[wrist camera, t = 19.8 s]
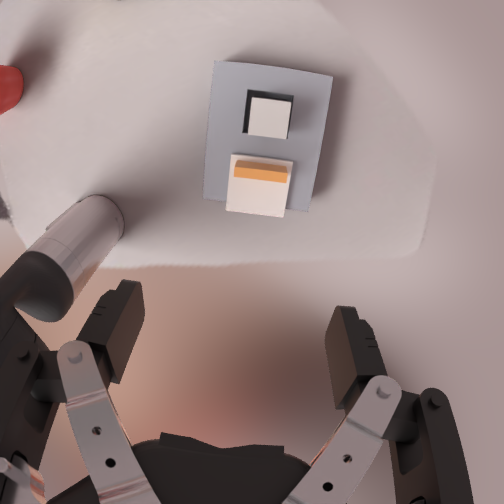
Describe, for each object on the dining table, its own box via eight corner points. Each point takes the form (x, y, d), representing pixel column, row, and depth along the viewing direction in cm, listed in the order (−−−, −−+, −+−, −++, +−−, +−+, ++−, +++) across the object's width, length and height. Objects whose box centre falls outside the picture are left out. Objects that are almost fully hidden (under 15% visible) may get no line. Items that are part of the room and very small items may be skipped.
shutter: (226, 208, 40) (223, 220, 37) (231, 153, 36) (228, 160, 33) (283, 215, 40) (284, 228, 37) (292, 161, 36) (295, 169, 33)
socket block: (207, 188, 43) (202, 198, 40) (219, 62, 34) (214, 60, 30) (304, 200, 44) (308, 211, 40) (326, 77, 34) (333, 76, 31)
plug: (250, 125, 38) (247, 134, 31) (254, 95, 36) (251, 97, 29) (281, 128, 38) (286, 139, 31) (285, 99, 36) (291, 102, 29)
